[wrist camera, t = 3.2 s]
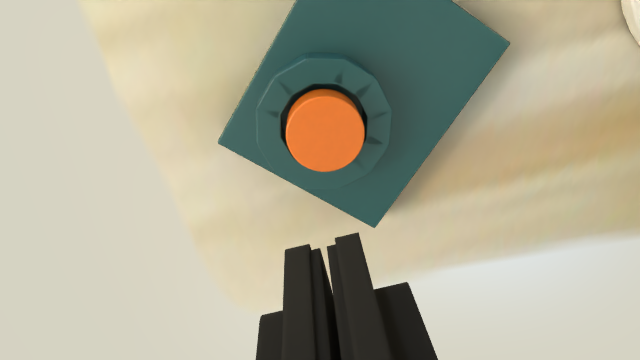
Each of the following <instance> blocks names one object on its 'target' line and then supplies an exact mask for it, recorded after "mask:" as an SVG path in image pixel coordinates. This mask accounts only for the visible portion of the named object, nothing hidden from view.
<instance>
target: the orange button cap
mask: <svg viewBox="0 0 640 360" xmlns="http://www.w3.org/2000/svg"><path fill="white" fill-rule="evenodd" d="M364 137H365V130H364V124H363V121H362V118H361V116H360V114H359V112H358V110H357V108H356V106H355V104H354V103H353V102H352V101H351V99H349V98H348V97H347V96H346V95H344V94H343V93H341V92H339V91H336V90H332V89H316V90H312V91H310V92H307V93H305V94H304V95H302V96H301V97H300V98H299V99H297V101H296V102H295V103H294V104H293V106H292V107H291V109H290V111H289V114H288V118H287V125H286V141H287V145H288V148H289V150H290V152H291V154H292V155H293V157H294V158H295V159H296V160H297V161H298V162H299V163H300V164H301V165H303V166H305V167H307V168H309V169H311V170H314V171H320V172H330V171H335V170H338V169H341V168H343V167H345V166H346V165H348V164H349V163H351V162H352V161H353V160H354V159H355V158H356V156H357V155H358V154H359V152H360V150H361V148H362V146H363V142H364Z"/></svg>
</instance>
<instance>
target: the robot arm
mask: <svg viewBox="0 0 640 360" xmlns="http://www.w3.org/2000/svg"><path fill="white" fill-rule="evenodd" d="M621 5H622V11H623V14H624V17H625V20H626V22H627V25H628V27H629V30H630V32H631V34H632V35H633V37H634V38H635V40H636V41H637V43H638V44H639V45H640V0H621ZM335 242H336V245H331V246H327V251H328V259H329V266H330V274H331V282H332V290H333V293H332V290H331V286H330V282H329V279H328V275H327V271H326V268H325V264H324V260H323V257H322V253H321V250H320V248H318V249H314V250H311V247H310V245H309V244H307V245H303V246H299V247H295V248H290V249H286V250H285V263H284V294H283V311H278V312H274V313H270V314H265V315H262V316H261V318H260V323H259V333H258V344H257V353H256V360H438V358H437V356H436V353H435V351H434V348H433V346H432V343H431V340H430V338H429V335H428V333H427V330H426V327H425V325H424V323H423V320H422V317H421V315H420V312H419V309H418V307H417V304H416V302H415V300H414V297H413V294H412V291H411V289H410V286H409V284H408V283H407V282H405V283H400V284H396V285H392V286H387V287H383V288H379V289H373V286H372V282H371V278H370V274H369V270H368V267H367V263H366V259H365V255H364V252H363V248H362V244H361V240H360V236H359V233H354V234H350V235H346V236H341V237H337V238H335Z"/></svg>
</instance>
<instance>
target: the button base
mask: <svg viewBox="0 0 640 360" xmlns="http://www.w3.org/2000/svg"><path fill="white" fill-rule="evenodd" d="M509 45H510V42H509V41H507V40H506V39H504V38H503V37H502V36H500V35H499V34H497V33H496V32H495V31H493V30H492V29H490V28H489V27H488V26H486V25H485V24H483V23H482V22H481V21H479V20H478V19H476V18H475V17H474V16H472V15H471V14H469V13H468V12H467V11H465V10H464V9H462V8H461V7H459V6H458V5H457V4H455V3H454V2H452V1H451V0H296V1H295V3H294V5H293V7H292V9H291V10H290V12H289V14H288V16H287V18H286V19H285V21H284V23H283V25H282V27H281V28H280V30H279V32H278V34H277V36H276V37H275V39H274V41H273V43H272V44H271V46H270V48H269V50H268V52H267V53H266V55H265V57H264V59H263V61H262V62H261V64H260V66H259V68H258V70H257V71H256V73H255V75H254V77H253V79H252V80H251V82H250V84H249V86H248V88H247V89H246V91H245V93H244V95H243V96H242V98H241V100H240V102H239V104H238V105H237V107H236V109H235V111H234V113H233V114H232V116H231V118H230V120H229V122H228V123H227V125H226V127H225V129H224V131H223V132H222V134H221V136H220V138H219V140H218V143H219V144H220V145H222V146H224V147H226V148H228V149H230V150H231V151H233V152H235V153H237V154H239V155H241V156H243V157H244V158H246V159H248V160H250V161H252V162H254V163H255V164H257V165H259V166H261V167H263V168H265V169H266V170H268V171H270V172H272V173H274V174H276V175H278V176H279V177H281V178H283V179H285V180H287V181H289V182H290V183H292V184H294V185H296V186H298V187H300V188H301V189H303V190H305V191H307V192H309V193H311V194H313V195H314V196H316V197H318V198H320V199H322V200H324V201H325V202H327V203H329V204H331V205H333V206H335V207H336V208H338V209H340V210H342V211H344V212H346V213H347V214H349V215H351V216H353V217H355V218H357V219H359V220H360V221H362V222H364V223H366V224H368V225H370V226H371V227H373V228H375V227H376V226H377V224H378V223H379V222H380V220H381V219H382V218H383V216H384V215H385V213H386V212H387V211H388V209H389V208H390V207H391V205H392V204H393V203H394V201H395V200H396V199H397V197H398V196H399V194H400V193H401V192H402V190H403V189H404V188H405V186H406V185H407V184H408V182H409V181H410V179H411V178H412V177H413V175H414V174H415V173H416V171H417V170H418V169H419V167H420V166H421V164H422V163H423V162H424V160H425V159H426V158H427V156H428V155H429V154H430V152H431V151H432V149H433V148H434V147H435V145H436V144H437V143H438V141H439V140H440V139H441V137H442V136H443V134H444V133H445V132H446V130H447V129H448V128H449V126H450V125H451V124H452V122H453V121H454V120H455V118H456V117H457V115H458V114H459V113H460V111H461V110H462V109H463V107H464V106H465V105H466V103H467V102H468V100H469V99H470V98H471V96H472V95H473V94H474V92H475V91H476V90H477V88H478V87H479V85H480V84H481V83H482V81H483V80H484V79H485V77H486V76H487V75H488V73H489V72H490V70H491V69H492V68H493V66H494V65H495V64H496V62H497V61H498V60H499V58H500V57H501V55H502V54H503V53H504V51H505V50H506V49H507V47H508V46H509ZM316 89H332V90H336V91H339V92H341V93H343V94H344V95H346V96H347V97H348V98H349V99H351V101H352V102H353V103H354V104H355V106H356V108H357V110H358V112H359V114H360V116H361V118H362V121H363V124H364V130H365V137H364V142H363V146H362V148H361V150H360V152H359V154H358V155H357V156H356V158H355V159H354V160H353V161H352V162H351V163H349V164H348V165H346V166H345V167H343V168H341V169H338V170H335V171H330V172H320V171H314V170H311V169H309V168H307V167H305V166H303V165H301V164H300V163H299V162H298V161H297V160H296V159H295V158H294V157H293V155H292V154H291V152H290V150H289V148H288V145H287V141H286V125H287V118H288V114H289V111H290V109H291V107H292V106H293V104H294V103H295V102H296V101H297V99H299V98H300V97H301V96H302V95H304V94H305V93H307V92H310V91H312V90H316Z"/></svg>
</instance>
